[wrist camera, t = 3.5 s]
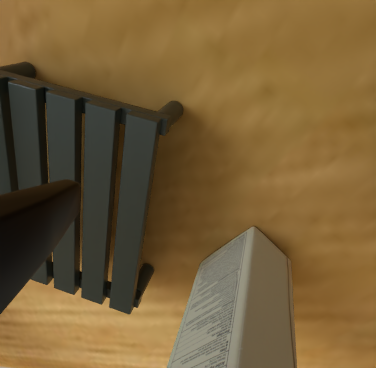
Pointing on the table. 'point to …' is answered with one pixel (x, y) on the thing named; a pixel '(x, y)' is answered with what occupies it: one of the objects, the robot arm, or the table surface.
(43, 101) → the rack
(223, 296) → the cosmetic box
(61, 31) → the table surface
